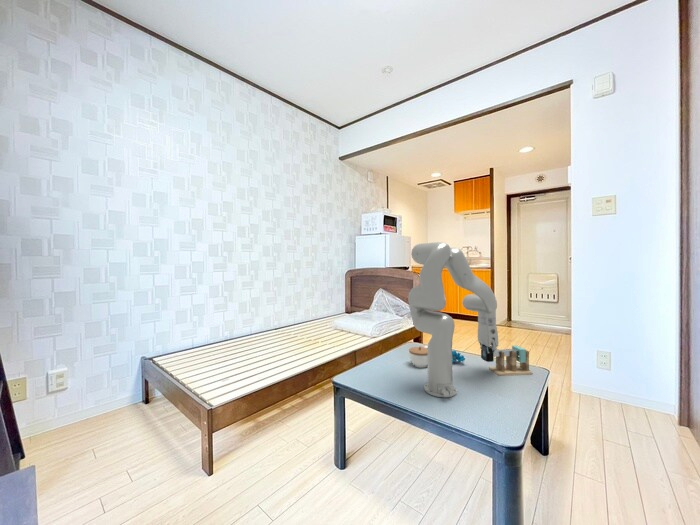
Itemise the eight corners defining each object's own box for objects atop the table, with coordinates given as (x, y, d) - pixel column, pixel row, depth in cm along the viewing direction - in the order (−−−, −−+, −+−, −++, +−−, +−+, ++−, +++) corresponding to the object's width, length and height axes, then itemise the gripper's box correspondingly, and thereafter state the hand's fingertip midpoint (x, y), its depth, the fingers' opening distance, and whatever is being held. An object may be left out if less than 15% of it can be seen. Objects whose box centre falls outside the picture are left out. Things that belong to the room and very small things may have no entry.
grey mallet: (527, 359, 133) (527, 346, 133) (486, 361, 131) (486, 348, 131) (522, 357, 137) (522, 344, 136) (482, 358, 135) (482, 346, 135)
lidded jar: (408, 368, 141) (408, 349, 140) (410, 360, 151) (410, 342, 151) (430, 370, 137) (430, 350, 137) (431, 362, 148) (431, 344, 148)
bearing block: (532, 374, 131) (532, 352, 131) (499, 375, 130) (498, 353, 130) (520, 367, 139) (520, 347, 139) (489, 369, 138) (488, 348, 138)
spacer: (525, 362, 132) (525, 349, 132) (520, 362, 131) (520, 349, 131) (517, 358, 138) (517, 345, 138) (512, 358, 137) (512, 345, 137)
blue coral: (469, 360, 145) (458, 349, 142) (465, 371, 142) (454, 359, 139) (451, 357, 154) (440, 346, 151) (447, 367, 151) (436, 356, 148)
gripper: (505, 324, 125) (506, 366, 125) (484, 316, 142) (485, 353, 142) (489, 324, 125) (489, 366, 125) (470, 317, 141) (470, 354, 141)
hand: (487, 359), depth 133 cm, fingers closed on grey mallet, 3 cm apart
